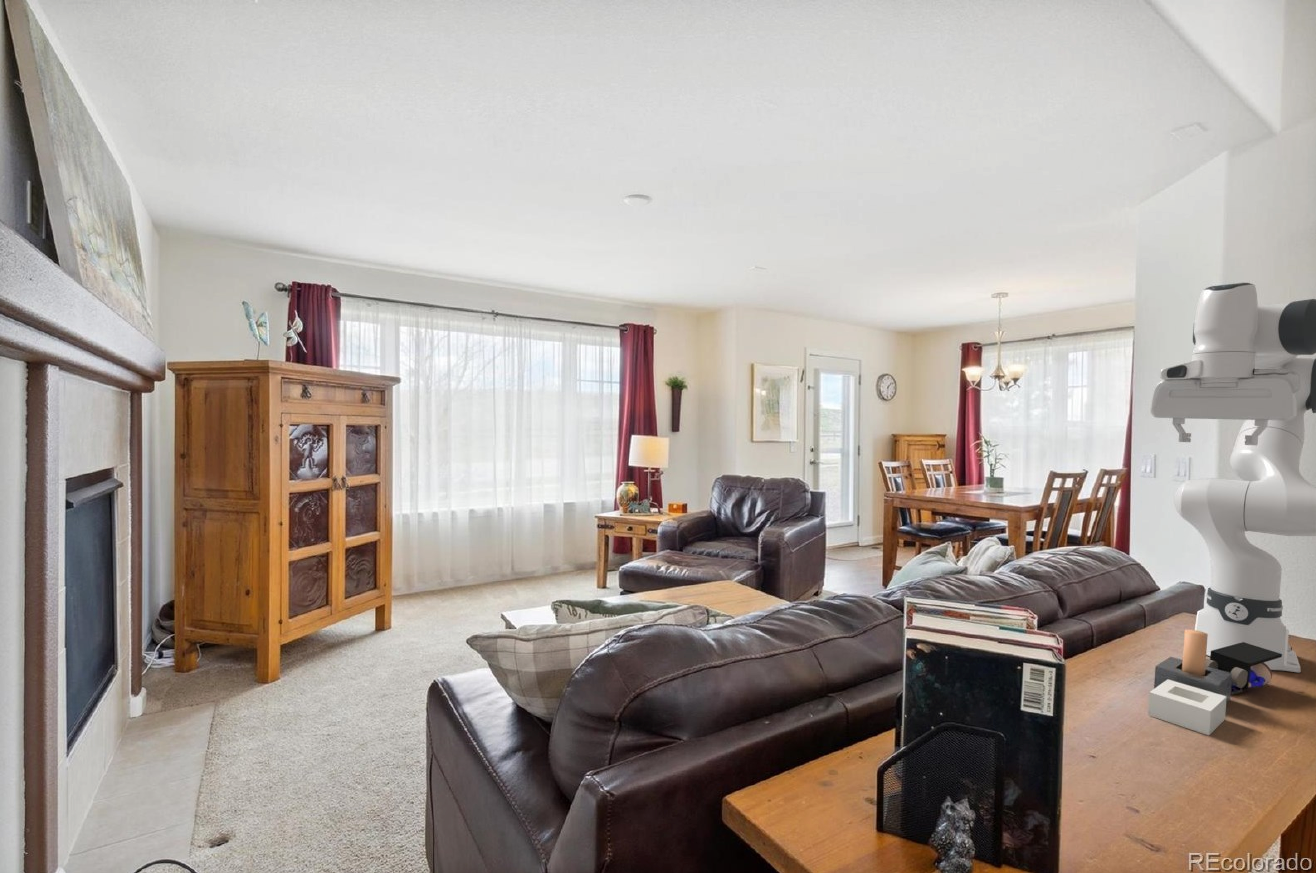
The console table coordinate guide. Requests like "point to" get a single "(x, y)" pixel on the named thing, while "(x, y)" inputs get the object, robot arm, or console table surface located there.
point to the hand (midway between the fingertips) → (1216, 443)
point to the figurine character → (1243, 664)
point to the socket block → (1187, 706)
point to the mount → (1194, 677)
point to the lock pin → (1194, 652)
